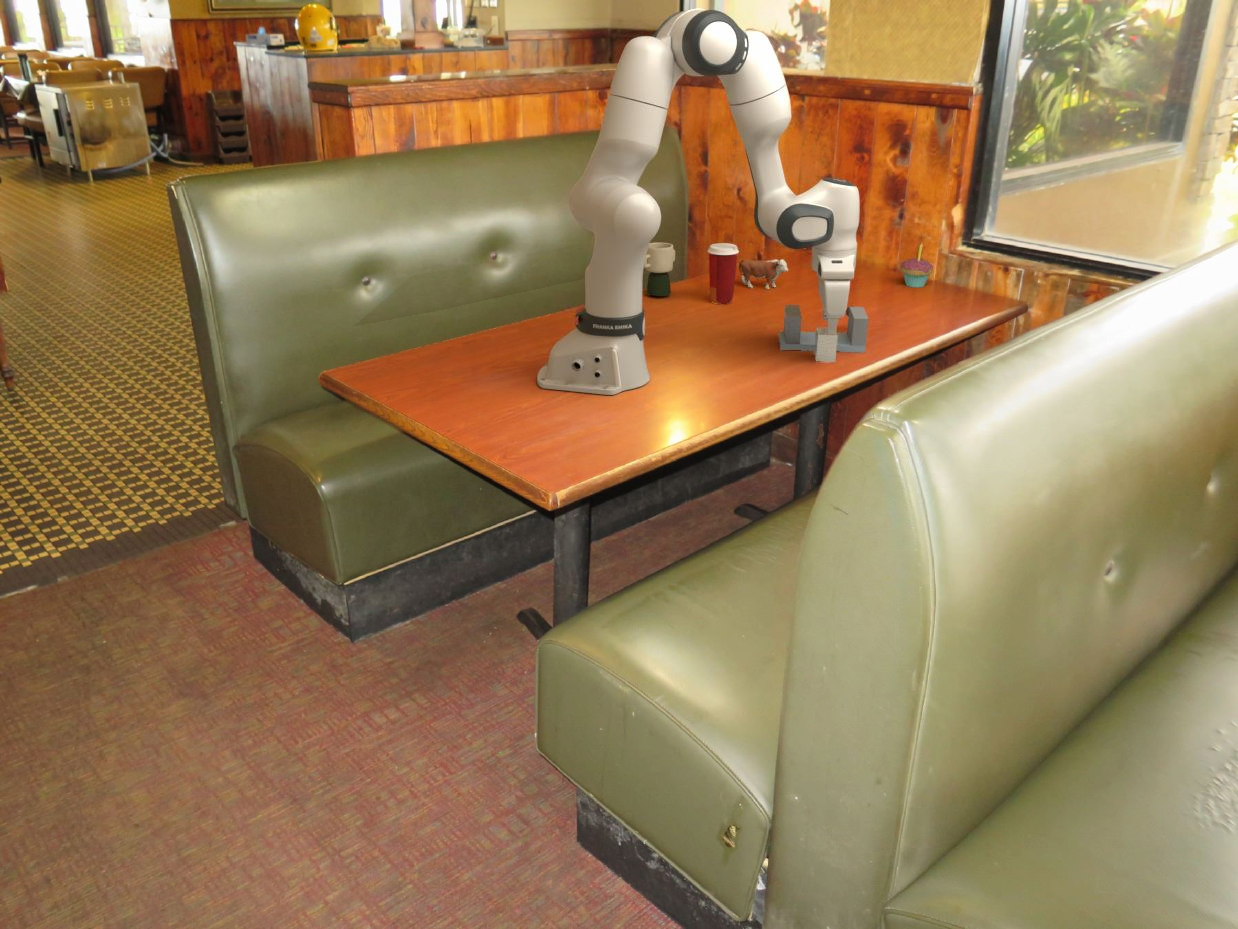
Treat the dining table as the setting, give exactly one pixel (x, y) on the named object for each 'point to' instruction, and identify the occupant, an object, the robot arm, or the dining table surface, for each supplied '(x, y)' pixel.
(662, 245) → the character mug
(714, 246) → the paper cup
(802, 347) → the vise base
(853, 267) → the robot arm
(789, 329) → the jaw
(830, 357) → the block
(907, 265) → the cupcake
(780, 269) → the bull figurine
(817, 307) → the dining table surface
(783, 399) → the dining table surface
